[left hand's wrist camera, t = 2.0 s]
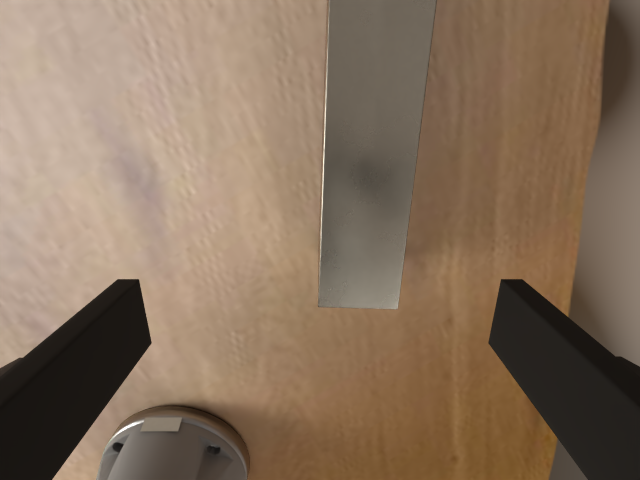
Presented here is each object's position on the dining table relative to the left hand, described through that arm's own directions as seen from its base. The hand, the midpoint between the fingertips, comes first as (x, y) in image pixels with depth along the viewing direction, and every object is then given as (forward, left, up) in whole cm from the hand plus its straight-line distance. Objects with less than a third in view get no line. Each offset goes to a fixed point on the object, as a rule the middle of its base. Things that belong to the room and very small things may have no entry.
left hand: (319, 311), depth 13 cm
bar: (+8, -3, -17) cm, 19 cm away
